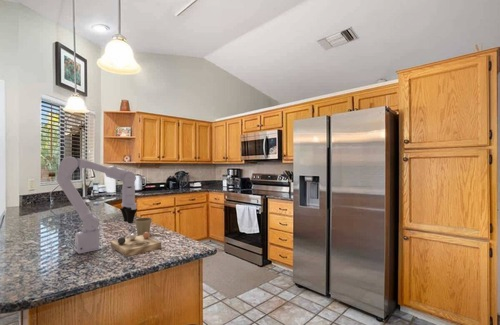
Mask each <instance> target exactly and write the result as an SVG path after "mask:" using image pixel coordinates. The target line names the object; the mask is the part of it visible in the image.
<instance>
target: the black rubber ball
mask: <svg viewBox="0 0 500 325" xmlns="http://www.w3.org/2000/svg"><path fill="white" fill-rule="evenodd" d="M117 240H118V243H119V244H124V243H125V237H124V236H121V237H119V238H118V239H117Z"/></svg>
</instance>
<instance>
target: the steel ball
mask: <svg viewBox="0 0 500 325" xmlns="http://www.w3.org/2000/svg"><path fill="white" fill-rule="evenodd" d="M136 236H137V235H136V233H130V234H129V235H128V238H129V239H130V240H134V239H135V238H136Z"/></svg>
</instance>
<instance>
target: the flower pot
mask: <svg viewBox="0 0 500 325" xmlns="http://www.w3.org/2000/svg"><path fill="white" fill-rule="evenodd" d="M152 220H153V217H140V218H136V219H135V218H134V220H133V222H134V224H135V226H136V232H137V236H140V235H143V234H144V233H145V232H149V234H150V233H151V232H150V230H151V225H152V224H151V223H152Z"/></svg>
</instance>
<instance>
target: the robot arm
mask: <svg viewBox="0 0 500 325" xmlns="http://www.w3.org/2000/svg"><path fill="white" fill-rule="evenodd" d="M78 168H79V170H80V169H89V170H92V171H93V170H94V171H95V172H100V173H103V174H104V175H105V176H106V177H107V178H110V179H114V180H117V181H122V186H121V188H122V190H121V191H122V195H121V197H122V199H121V200H122V202H121V203H120V204H121V208H119V210H120V212H121V214H122V217H123V221H124V222H125V223H127V224H134V220H135V216H136V213H137V212H138V208H137V205H138V203H137V202H136V201H135V200H136V198H135V197H136V191H135V190H136V187H135V185H136V184H135V181H136V180H137V177H136V174H135V173H134V171H129V170H128V169H126V168H125V169H123V168H120V167H118V166H117V165H110V166H109V165H108V166H105V165H102V164H100V163H98V162H97V163H96V162H94V161H91V160H88V159H84V158H79V157H74V156H66V157H64V158H62V160H61V161H60V163H59V165H58V168H57V174H56V183H58V185H59V187H60V188H61V190H62V192H63V193H64V195H66V197H67V199H68V201H69V202H70V204H71V205H72V207H73V208H74V210H75V211H76V213H77V215H78V216H79V219H80V220H81V222H82V228H81V231H77V232H75V236H74V251H75V252H76V253H78V254H84V253H89V252H94V251H99V250H103V247H102V246H100V227H99V226H100V221H99V219H98V216H96V215H95V214H93V213H92V211H91V210H90V209H89V207H88V206H87V204H86V202H85V201H84V199H83V198H82V196H81V194H80V193H79V191H78V189H77V188H76V186H75V184H74V183H73V182H72V180H71V178H72V176H73V173H74V172H75V171H76V170H77V169H78Z"/></svg>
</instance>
